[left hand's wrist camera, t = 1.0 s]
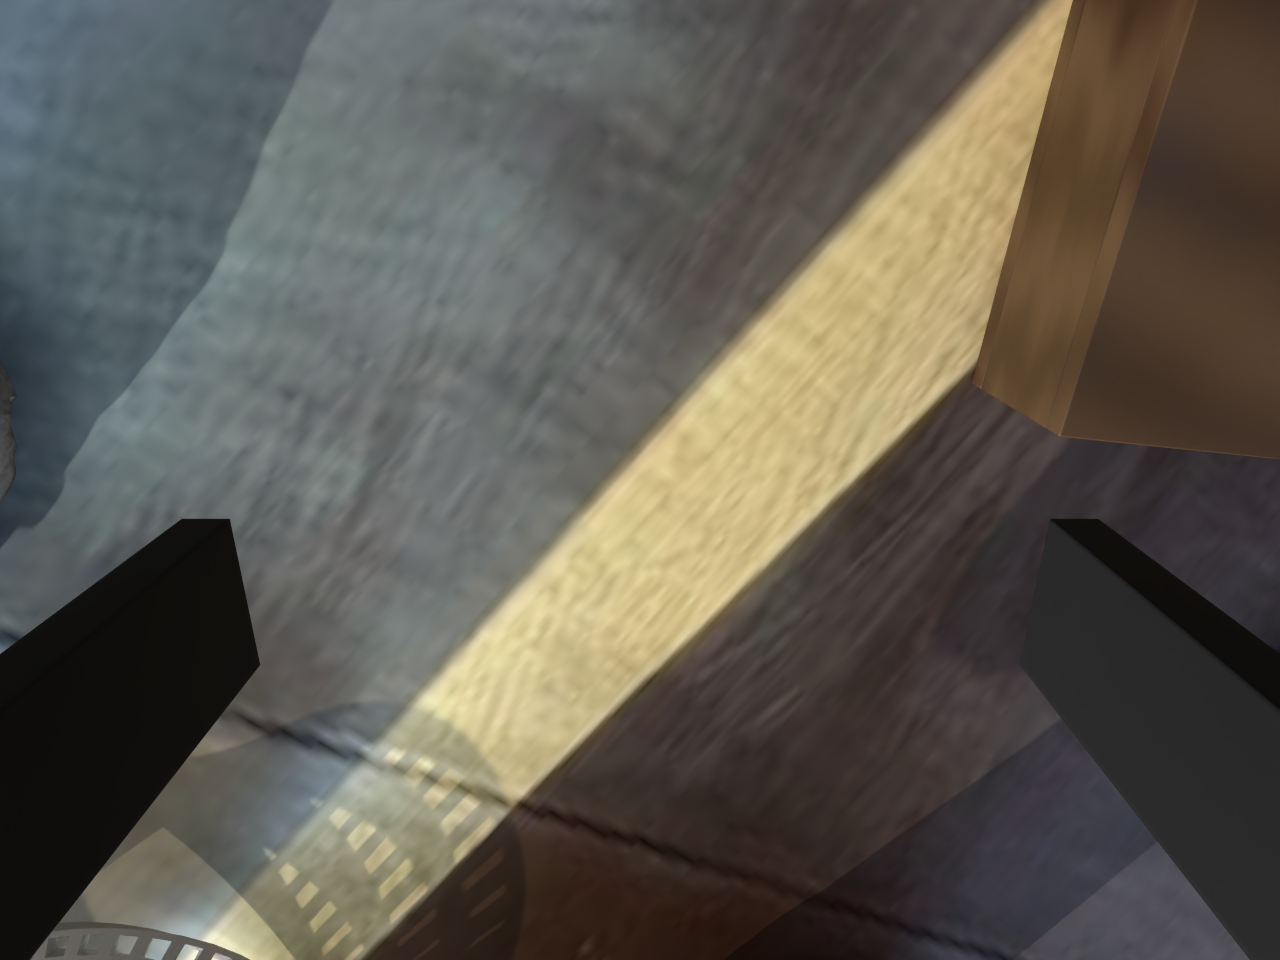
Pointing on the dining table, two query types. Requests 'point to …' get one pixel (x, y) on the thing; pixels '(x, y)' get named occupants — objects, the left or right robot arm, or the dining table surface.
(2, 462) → the decorative stone
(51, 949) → the decorative object
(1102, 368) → the cabinet
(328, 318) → the dining table surface
